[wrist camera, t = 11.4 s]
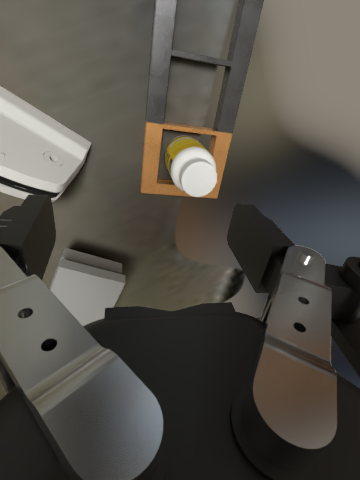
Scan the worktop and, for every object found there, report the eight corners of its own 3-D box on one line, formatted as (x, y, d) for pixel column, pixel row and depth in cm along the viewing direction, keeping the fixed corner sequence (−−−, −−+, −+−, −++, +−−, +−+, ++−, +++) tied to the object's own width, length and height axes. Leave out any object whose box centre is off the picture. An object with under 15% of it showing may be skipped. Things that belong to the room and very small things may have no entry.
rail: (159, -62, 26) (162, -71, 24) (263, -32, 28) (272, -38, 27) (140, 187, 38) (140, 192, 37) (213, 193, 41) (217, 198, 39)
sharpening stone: (73, 220, 39) (59, 266, 30) (124, 237, 42) (125, 283, 33) (33, 333, 50) (14, 392, 41) (77, 339, 53) (68, 396, 44)
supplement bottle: (156, 144, 36) (167, 166, 28) (194, 127, 35) (216, 145, 27) (171, 180, 39) (185, 210, 31) (206, 165, 38) (229, 191, 30)
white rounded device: (94, 144, 34) (71, 194, 28) (79, 169, 37) (55, 220, 31) (-62, 47, 27) (-145, 83, 20) (-65, 87, 30) (-139, 131, 23)
